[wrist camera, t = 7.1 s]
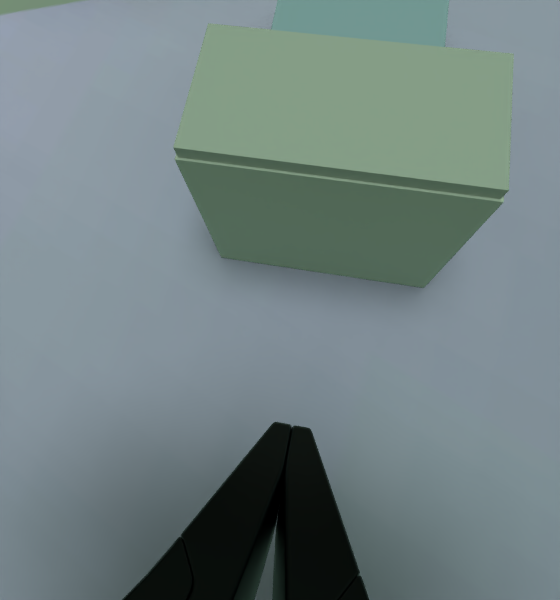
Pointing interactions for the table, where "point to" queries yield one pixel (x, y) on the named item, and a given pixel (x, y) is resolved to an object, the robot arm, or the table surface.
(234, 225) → the green book
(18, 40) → the table surface
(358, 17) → the blue book
